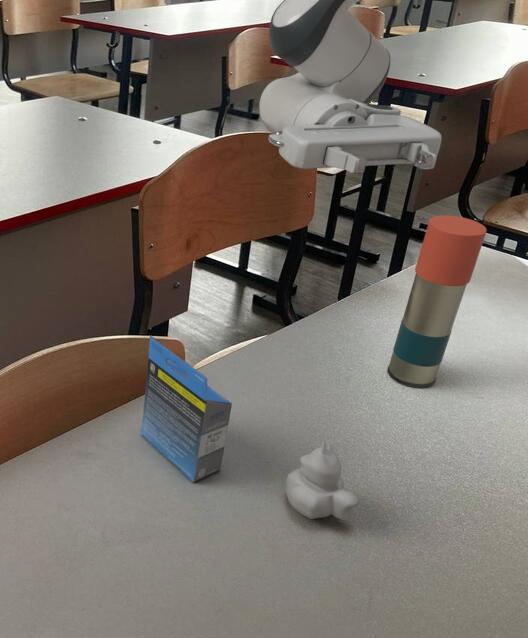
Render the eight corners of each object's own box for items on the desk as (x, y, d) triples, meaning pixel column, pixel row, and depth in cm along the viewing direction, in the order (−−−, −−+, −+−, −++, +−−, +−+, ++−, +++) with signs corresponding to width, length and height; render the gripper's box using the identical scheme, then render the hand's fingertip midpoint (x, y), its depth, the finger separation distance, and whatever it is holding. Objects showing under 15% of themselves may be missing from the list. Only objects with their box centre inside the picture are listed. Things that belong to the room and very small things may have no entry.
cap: (453, 263, 87) (468, 214, 84) (480, 286, 82) (497, 235, 79) (405, 264, 87) (419, 215, 84) (430, 286, 82) (446, 235, 79)
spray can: (421, 363, 93) (452, 264, 87) (443, 387, 89) (478, 285, 82) (379, 363, 93) (407, 264, 86) (399, 388, 89) (431, 286, 82)
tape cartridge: (223, 471, 75) (241, 367, 69) (192, 484, 74) (208, 379, 67) (167, 423, 82) (179, 324, 76) (138, 434, 80) (147, 334, 74)
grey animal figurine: (300, 480, 74) (316, 415, 70) (363, 517, 70) (384, 450, 66) (269, 506, 71) (284, 439, 67) (333, 546, 67) (353, 477, 63)
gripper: (266, 110, 98) (322, 142, 87) (405, 106, 102) (476, 135, 91) (258, 158, 101) (311, 194, 90) (393, 151, 105) (460, 185, 94)
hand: (395, 164), depth 90 cm, fingers open, 8 cm apart
